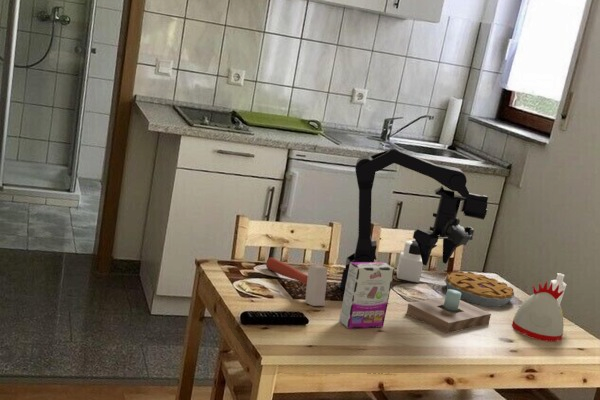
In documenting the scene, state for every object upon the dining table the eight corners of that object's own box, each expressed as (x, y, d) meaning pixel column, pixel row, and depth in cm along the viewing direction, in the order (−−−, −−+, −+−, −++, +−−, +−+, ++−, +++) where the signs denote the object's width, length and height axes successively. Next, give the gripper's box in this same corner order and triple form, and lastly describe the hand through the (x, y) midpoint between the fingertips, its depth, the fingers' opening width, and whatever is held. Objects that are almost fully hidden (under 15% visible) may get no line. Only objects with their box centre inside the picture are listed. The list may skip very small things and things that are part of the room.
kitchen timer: (560, 346, 209) (574, 294, 205) (510, 331, 213) (522, 281, 210) (562, 330, 221) (575, 282, 218) (514, 317, 226) (526, 269, 222)
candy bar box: (373, 320, 202) (385, 261, 199) (383, 327, 198) (396, 268, 195) (337, 321, 197) (349, 261, 193) (347, 329, 193) (359, 267, 189)
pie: (429, 287, 240) (432, 272, 239) (467, 280, 256) (471, 266, 255) (487, 313, 226) (491, 297, 225) (525, 304, 241) (528, 289, 240)
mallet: (266, 247, 228) (317, 267, 202) (276, 248, 230) (328, 267, 204) (262, 282, 229) (313, 307, 203) (273, 282, 231) (324, 306, 205)
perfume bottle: (556, 321, 229) (569, 274, 226) (556, 325, 225) (569, 278, 221) (540, 317, 230) (553, 270, 227) (540, 321, 226) (552, 273, 223)
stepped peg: (449, 322, 211) (455, 295, 209) (437, 316, 214) (443, 290, 212) (458, 320, 214) (464, 293, 212) (446, 314, 217) (452, 288, 215)
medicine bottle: (417, 276, 249) (425, 241, 246) (419, 283, 242) (427, 247, 239) (396, 272, 249) (403, 237, 247) (396, 278, 242) (404, 242, 240)
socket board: (446, 333, 202) (448, 323, 201) (406, 313, 212) (408, 303, 211) (488, 323, 216) (491, 313, 215) (449, 305, 226) (451, 295, 225)
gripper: (449, 221, 204) (436, 276, 207) (489, 220, 216) (476, 271, 220) (417, 209, 212) (405, 262, 215) (458, 208, 224) (446, 258, 228)
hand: (434, 264), depth 219 cm, fingers open, 9 cm apart
